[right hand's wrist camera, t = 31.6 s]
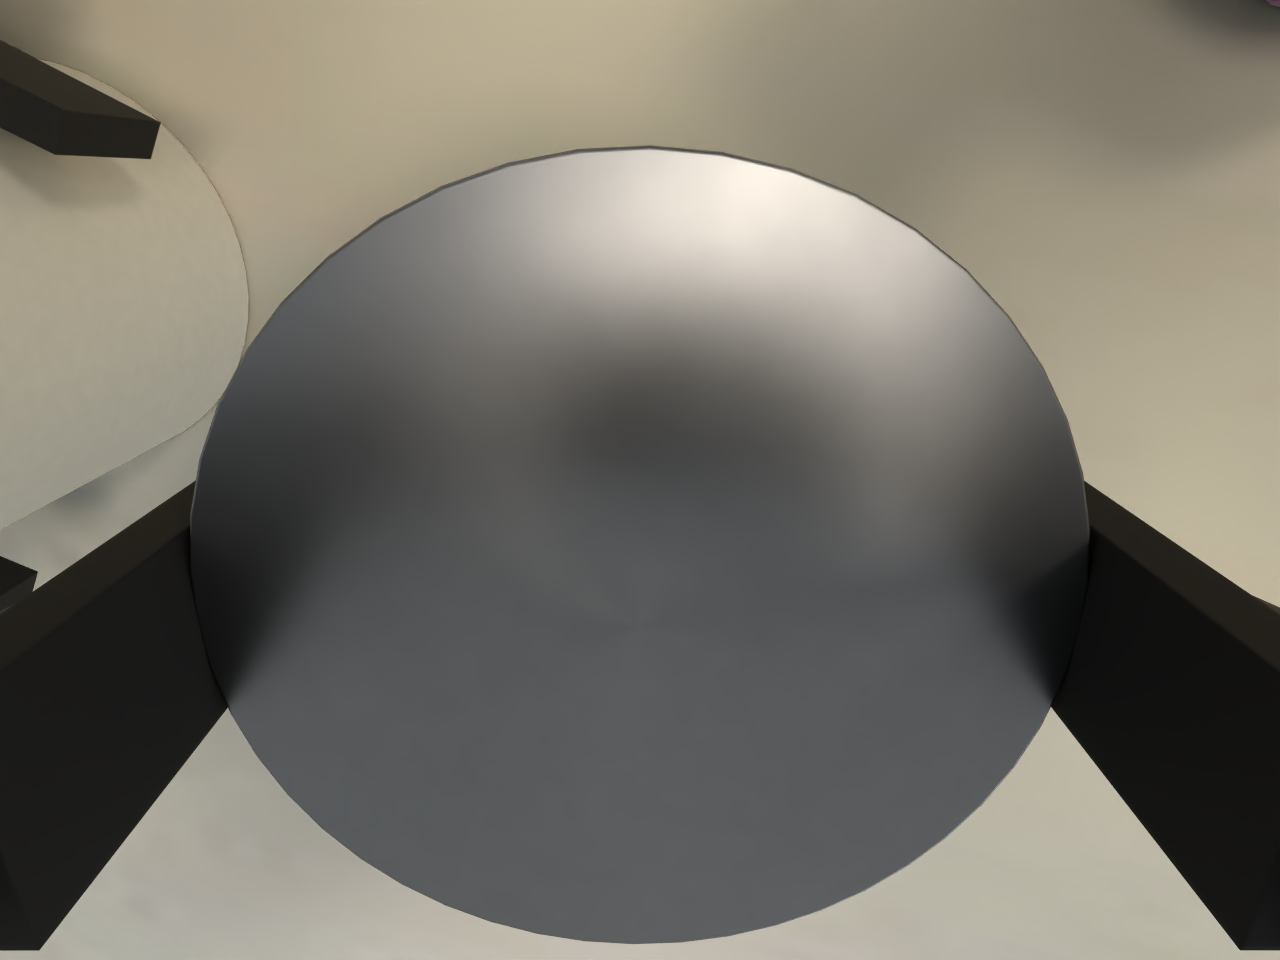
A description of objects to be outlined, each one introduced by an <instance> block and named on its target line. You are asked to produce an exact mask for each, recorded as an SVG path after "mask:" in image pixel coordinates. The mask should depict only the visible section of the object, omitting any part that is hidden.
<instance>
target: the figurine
mask: <svg viewBox="0 0 1280 960" xmlns="http://www.w3.org/2000/svg"><path fill="white" fill-rule="evenodd" d="M1265 1H1267V2H1268V3H1269V4H1270V5H1273V6H1277V7H1280V0H1265Z"/></svg>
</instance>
